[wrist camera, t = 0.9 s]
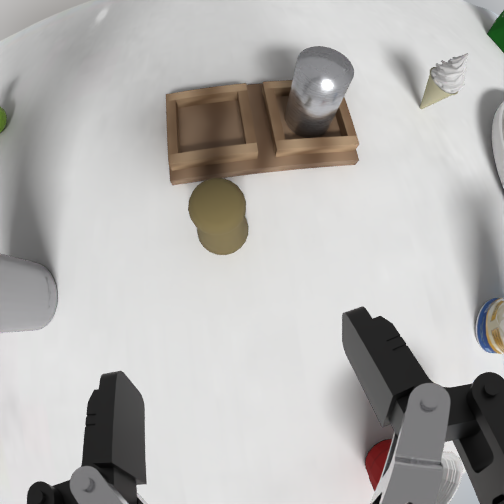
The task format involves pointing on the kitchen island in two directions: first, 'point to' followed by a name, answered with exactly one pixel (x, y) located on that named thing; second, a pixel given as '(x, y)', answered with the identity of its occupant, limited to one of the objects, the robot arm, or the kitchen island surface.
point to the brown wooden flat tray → (247, 134)
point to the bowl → (499, 141)
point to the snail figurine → (2, 119)
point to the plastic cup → (449, 461)
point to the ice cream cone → (444, 80)
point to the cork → (219, 215)
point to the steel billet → (317, 90)
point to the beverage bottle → (491, 326)
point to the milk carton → (498, 31)
